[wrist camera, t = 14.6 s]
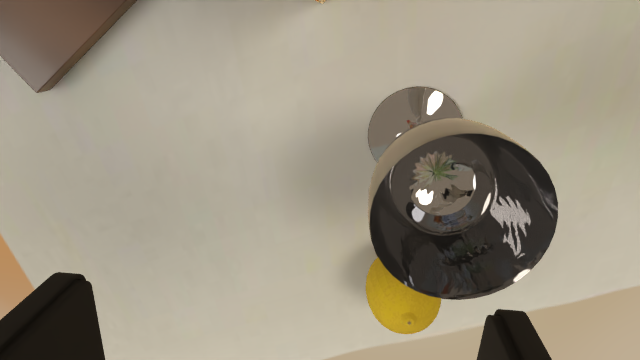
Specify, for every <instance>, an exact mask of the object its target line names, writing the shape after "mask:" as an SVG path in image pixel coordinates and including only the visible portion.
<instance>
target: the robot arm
mask: <svg viewBox="0 0 640 360" xmlns="http://www.w3.org/2000/svg"><path fill="white" fill-rule="evenodd" d="M0 360H105V356H104V350H103V345H102V339H101V334H100V328H99V323H98V317H97V312H96V306H95V301H94V295H93V290H92V285H91V283H90V282H89V281H86V279H85V277H84V276H83V275H81V274H72V273H60V272H58V273H55V274H53V275H51V276H50V277H49V278H48V279H47V280H46V281H45V282H43V283H42V284H41V285H40V286H39V287H38V288H37V289H35V290H34V291H33V292H32V293H31V294H30V295H29V296H27V297H26V298H25V299H24V300H23V301H22V302H20V303H19V304H18V305H17V306H16V307H15V308H14V309H13V310H11V311H10V312H9V313H8V314H7V315H6V316H4V318H2V319H1V320H0ZM477 360H552V359H551V357H550V356H549V354H548V352H547V350H546V348H545V347H544V345H543V343H542V341H541V339H540V338H539V336H538V334H537V332H536V330H535V329H534V327H533V325H532V323H531V321H530V319H529V318H528V316H527V315H526V313H525V312H523V311H513V310H501V309H498V310H496V312H495V314H494V315H488V316H487V318H486V321H485V326H484V330H483V335H482V339H481V344H480V348H479V352H478V357H477Z"/></svg>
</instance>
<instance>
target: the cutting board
mask: <svg viewBox="0 0 640 360" xmlns="http://www.w3.org/2000/svg"><path fill="white" fill-rule="evenodd" d="M136 1H137V0H0V56H1V57H2V58H3V59H4V60H5V61H6V62H7V63H8V64H9V65H10V66H11V67H12V68H13V69H14V70H15V71H16V72H17V73H18V74H19V75H20V76H21V77H22V78H23V79H24V81H25V82H26V83H27V84H28V85H29V86H30V87H31V88H32V89H33V90H34V91H35V92H36V93H39V92H43V91H48V90H50V89H51V88H52V87H53V86H54V85H55V84H56V83H57V82H58V81H59V80H60V79H61V78H62V77H63V76H64V75H65V74H66V73H67V72H68V71H69V70H70V69H71V68H72V67H73V66H74V64H75V63H76V62H77V61H78V60H79V59H80V58H81V57H82V56H83V55H84V54H85V53H86V52H87V51H88V50H89V49H90V48H91V47H92V46H93V45H94V44H95V43H96V42H97V41H98V40H99V39H100V38H101V37H102V36H103V35H104V34H105V33H106V32H107V30H108V29H109V28H110V27H111V26H112V25H113V24H114V23H115V22H116V21H117V20H118V19H119V18H120V17H121V16H122V15H123V14H124V13H125V12H126V11H127V10H128V9H129V8H130V7H131V6H132V5H133V4H134V3H135V2H136Z"/></svg>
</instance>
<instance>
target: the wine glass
mask: <svg viewBox="0 0 640 360" xmlns="http://www.w3.org/2000/svg"><path fill="white" fill-rule="evenodd" d="M368 142H369V147H370V150H371V153H372V155H373V157H374V158H375V160H376V161H377V165H376V167H375V170H374V173H373V176H372V179H371V183H370V188H369V199H368V221H369V229H370V235H371V240H372V243H373V246H374V249H375V251H376V254H377V256H378V257H379V259H380V261H381V262H382V264H383V266H384V267H385V268H386V269H387V270H388V271H389V272H390V273H391V275H392V276H394V277H395V278H396V279H397V280H399V281H400V282H401V283H402V284H404V285H405V286H407V287H409V288H411V289H413V290H415V291H417V292H419V293H422V294H425V295H428V296H431V297H437V298H442V299H456V300H461V299H471V298H477V297H481V296H485V295H490V294H492V293H495V292H497V291H500V290H502V289H505V288H506V287H508V286H510V285H511V284H513V283H515V282H517V281H518V280H519V279H521V278H522V277H523V276H524V275H526V274H527V273H528V272H529V271H531V269H532V268H533V267H534V266H535V265H536V264H537V263H538V262H539V261H540V259H541V258H542V256H543V255H544V253H545V252H546V250H547V249H548V247H549V245H550V242H551V240H552V238H553V235H554V233H555V228H556V224H557V219H558V202H557V197H556V192H555V188H554V185H553V183H552V181H551V179H550V176H549V174H548V173H547V171H546V170H545V169H544V167H543V166H542V164H541V163H540V162H539V161H538V160H537V159H536V158H535V157H534V156H533V155H532V154H531V153H530V152H529V151H528V150H527V149H525V148H524V147H523V146H522V145H520V144H519V143H518V142H516V141H515V140H513V139H511V138H510V137H508V136H507V135H505V134H503V133H502V132H500V131H498V130H497V129H495V128H493V127H490V126H488V125H485V124H482V123H479V122H476V121H472V120H466V119H462V115H461V113H460V111H459V109H458V107H457V106H456V105H455V103H454V102H453V101H452V100H451V99H450V98H449V97H448V96H446V95H445V94H443V93H441V92H439V91H437V90H434V89H431V88H426V87H412V88H406V89H403V90H400V91H398V92H396V93H394V94H392V95H390V96H389V97H388V98H386V99H385V100H384V101H383V102H382V103H381V104H380V105H379V106H378V108H377V109H376V111H375V112H374V114H373V116H372V118H371V121H370V124H369V129H368Z"/></svg>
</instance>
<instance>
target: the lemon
mask: <svg viewBox="0 0 640 360" xmlns="http://www.w3.org/2000/svg"><path fill="white" fill-rule="evenodd" d="M366 294H367V299H368V303H369V306H370V308H371V310H372V312H373V314H374V316H375V317H376V319H377V320H378V321H379V322H380V323H381V324H382V325H383V326H384V327H386V328H388V329H389V330H391V331H393V332H396V333H401V334H413V333H416V332H420V331H422V330H424V329H425V328H427V327H428V326H429V325H430V324H431V323H432V322H433V321H434V319H435V318H436V316H437V314H438V311H439V308H440V304H441V298H437V297H431V296H428V295H425V294H422V293H419V292H417V291H415V290H413V289H411V288H409V287H407V286H405V285H404V284H402V283H401V282H400V281H399V280H397V279H396V278H395V277H394V276H392V275H391V273H390V272H389V271H388V270H387V269H386V268H385V267H384V266H383V264H382V262H381V261H380V259H379V257H378V258H377V259H376V260H375V261H374V262H373V264H372V265H371V267H370V269H369V272H368V275H367V280H366Z"/></svg>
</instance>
